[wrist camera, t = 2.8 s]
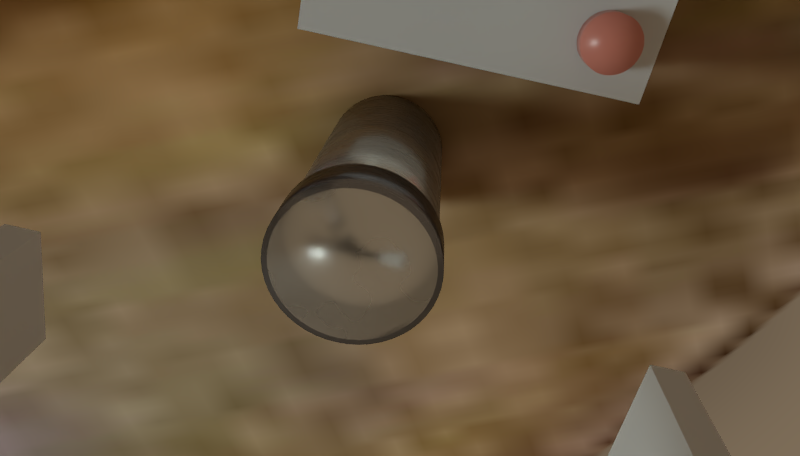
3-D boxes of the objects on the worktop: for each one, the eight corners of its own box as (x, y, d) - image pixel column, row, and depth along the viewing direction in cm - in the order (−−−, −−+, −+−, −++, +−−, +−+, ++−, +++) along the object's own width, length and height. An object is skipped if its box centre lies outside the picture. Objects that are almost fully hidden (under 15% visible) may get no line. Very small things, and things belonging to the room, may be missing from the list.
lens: (338, 79, 24) (272, 163, 15) (458, 106, 24) (463, 205, 15) (320, 191, 26) (252, 324, 17) (431, 215, 26) (421, 360, 17)
